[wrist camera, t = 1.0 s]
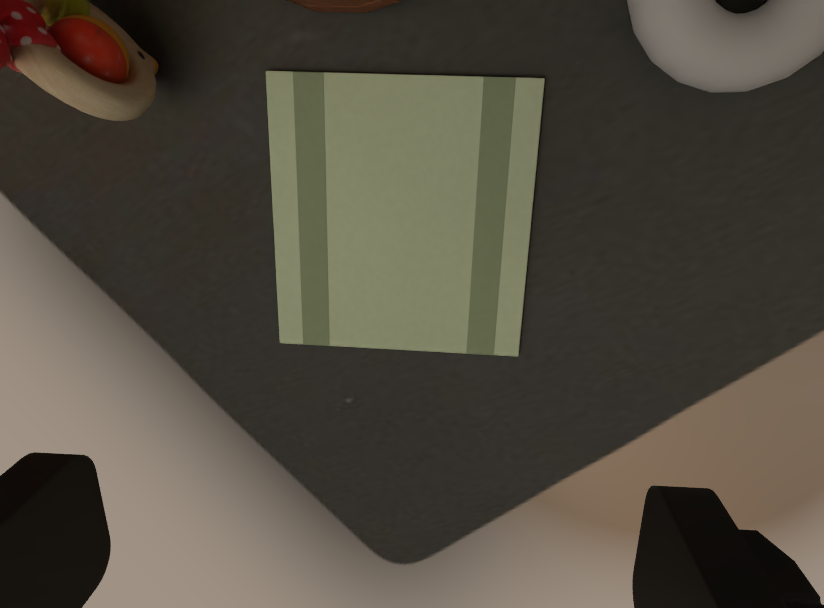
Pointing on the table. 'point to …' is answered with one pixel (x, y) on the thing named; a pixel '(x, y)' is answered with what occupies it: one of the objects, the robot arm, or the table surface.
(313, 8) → the pan
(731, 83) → the donut
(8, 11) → the bird rattle
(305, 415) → the table surface
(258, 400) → the table surface
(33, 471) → the robot arm
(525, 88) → the towel
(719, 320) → the table surface
